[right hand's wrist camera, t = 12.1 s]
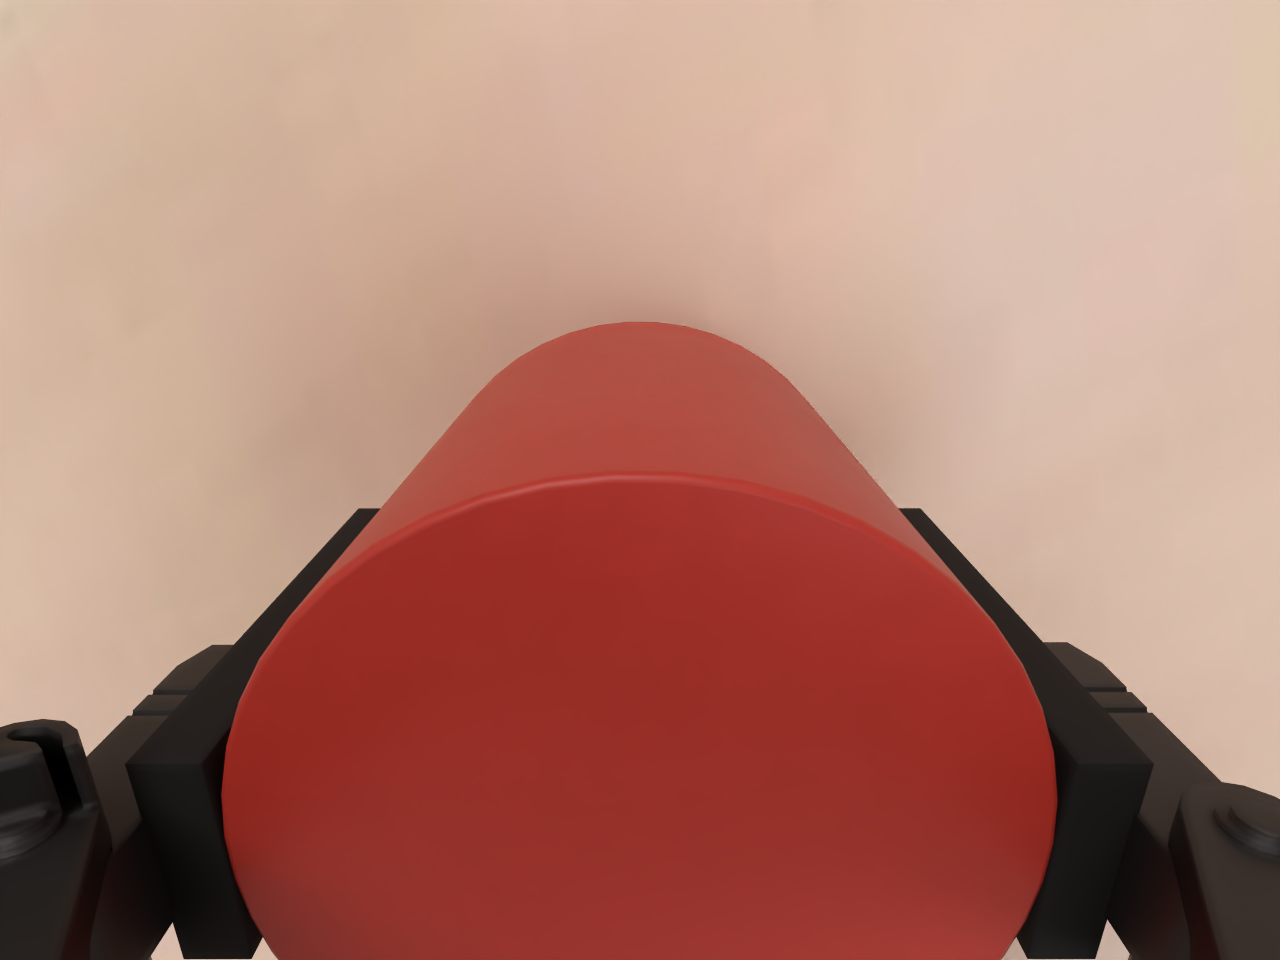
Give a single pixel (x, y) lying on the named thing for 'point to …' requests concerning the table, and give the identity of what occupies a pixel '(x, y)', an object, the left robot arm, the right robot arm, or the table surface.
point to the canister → (639, 695)
